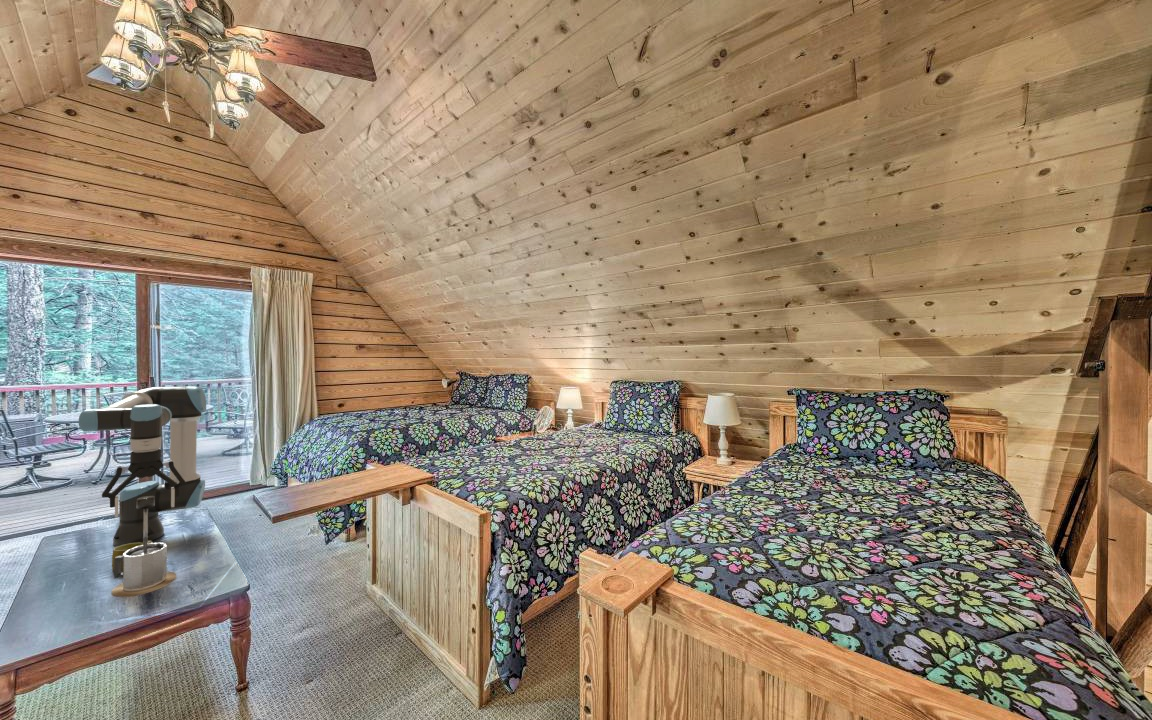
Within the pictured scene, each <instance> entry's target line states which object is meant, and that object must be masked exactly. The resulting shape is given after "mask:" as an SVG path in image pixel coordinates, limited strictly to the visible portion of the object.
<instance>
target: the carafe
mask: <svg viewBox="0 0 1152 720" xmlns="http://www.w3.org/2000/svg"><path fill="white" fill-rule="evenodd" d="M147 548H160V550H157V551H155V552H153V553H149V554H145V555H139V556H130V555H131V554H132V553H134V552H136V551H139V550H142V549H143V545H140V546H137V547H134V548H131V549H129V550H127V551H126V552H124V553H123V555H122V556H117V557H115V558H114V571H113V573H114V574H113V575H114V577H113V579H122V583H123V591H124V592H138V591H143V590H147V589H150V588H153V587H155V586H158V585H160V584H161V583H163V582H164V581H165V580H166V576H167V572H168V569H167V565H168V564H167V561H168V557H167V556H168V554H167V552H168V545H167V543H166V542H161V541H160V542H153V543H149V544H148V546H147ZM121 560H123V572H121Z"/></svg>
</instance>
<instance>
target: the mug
mask: <svg viewBox="0 0 1152 720" xmlns="http://www.w3.org/2000/svg"><path fill="white" fill-rule="evenodd" d="M149 543H154V542H153V540H152V541H148V544H149ZM140 545H143V543H140V542H139V543H130V544H125V545H121V546H115V547H114V548H113V550H112V554H111V568H112V569H111V570H112V571H113V572H114V558H115V557H117V556H122V555H123V553H124V552H126V551H127V550H129V549H131V548H134V547H137V546H140ZM121 573H123V560H121Z"/></svg>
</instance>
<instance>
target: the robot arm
mask: <svg viewBox="0 0 1152 720" xmlns="http://www.w3.org/2000/svg"><path fill="white" fill-rule="evenodd" d="M206 411H207V398H206V394H205V392H204V390H203V388H202V387H200V386H191V385H190V386H189V385H187V386H184V385H183V386H153V387H152V386H151V387H146V388H143V389H140V390H136V391H132V392H130V393H127V394H126V395H124V396H123V397H122V398H121V399H120V400H118V401H116V402H114V403H112V404H110V405H107V406H105V407H103V408H92V409H84V410H82V411H81V412H80V414H79V417H78V427H79V429H80V430H81V431H83V432H101V431H103V432H104V431H118V430H120V431H121V430H130V442H129V443H130V451H131V452H130V453H129V456H130V457H129V458H130V461H129V462H130V463H129V466H122V465H119V466H117V467H116V472H115V474H114V476H113V477H112V478H111V480H110V481H109V483H108V484H107V486H106V487H105V488H104V490H103V491H102V493H101V497H102V498H108V499H109V507H110V508H114V518H118V519H119V521H118V522H119V523H118V526H117V528H116V531H115V533H114V535H113V538H112V545H113V546H115V547H118V546H121V545H125V544H130V543H139V542H140V543H143V532H144V509H137V499H138V498H141V497H145V496H155V506H153V507H150V508H148V541H152V542H153V541H155V540H156V539H160V538H161V537H162V536H163V535H164V534H165V532H164V531H165V527H164V526H163V524H162V521H161V519H160V517H159V513H161V512H168V511H169V512H170V511H171V512H172V511H177V510H187V509H192V508H196V507H198V506H199V505H200V504H201V503H202V500H203V497H204V493H205V488H206V480H204V479H201V475H200V474H198V473H197V441H198V440H197V437H198V435H197V434H198V433H197V432H198V431H197V429H198V427H197V426H198V424H197V423H198V421H197V420H199V419H200V418H201V417H202V414H203V413H205V412H206ZM168 423H170V437H169V439H170V440H169V441H170V442H169V443H170V444H169V460H168V461H162V449H161V448H162V427H164V426H166V425H167V424H168ZM163 466H164V467H165V468H166V469H169V476H168V475H167V474H166V473H164V472H162V470H161V469H162V468H163ZM127 471H129V473H131V474H130V475H129V476H128V477H127V478H126V479H125V480H124V481H122V482H121V483H120V485H118V486H117V487H116V488H115V489H114V490H113V491H112V489H113V488H114V486H115V485H116V483H117V482H118V481H119V479H120V478H121V475H122V474H125V472H127ZM155 475H156V476H157V477H159V478H160V479H161V480H163V481H164V483H161V484H160V481H158V480H148V481H143V482H138V483H135V484H132V485H129V484H131V483H132V482H133V481H134V480H135V479H136V478H137V479H143V478H152V477H153V476H154V477H155ZM128 485H129V486H128ZM111 491H112V492H111Z"/></svg>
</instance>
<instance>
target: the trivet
mask: <svg viewBox="0 0 1152 720" xmlns="http://www.w3.org/2000/svg"><path fill="white" fill-rule="evenodd" d="M177 577H178V575H177V573H176V572H173V571H167V576H166V580H165V581H164V582H163V583H161V584H160V585H158V586H155V587H153V588H150V589H147V590H143V591H138V592H124V591H123V582H121V583H120V584H118V585H116V586H115V587H114V588H113V589H112V590H111V591H110V594H111V595H112V596H113V597H116V598H129V597H136V596H141V595H145V594H148V593H152V592H155V591H157V590H159V589H162V588H164V587H166V586H168V585H170V584H172V582H174V581H175V580H176V578H177Z"/></svg>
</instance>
